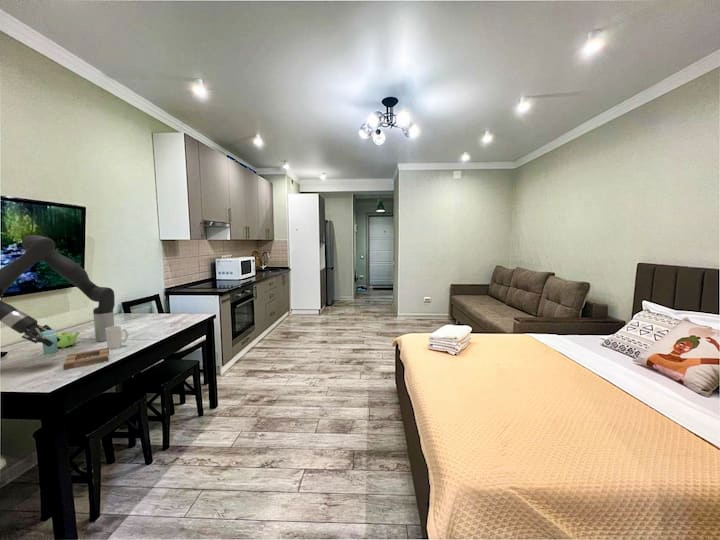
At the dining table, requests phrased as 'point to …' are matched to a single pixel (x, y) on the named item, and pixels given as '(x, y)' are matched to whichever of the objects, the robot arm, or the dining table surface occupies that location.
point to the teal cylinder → (53, 338)
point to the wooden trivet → (73, 362)
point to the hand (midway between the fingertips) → (55, 342)
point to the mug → (115, 336)
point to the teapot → (66, 339)
